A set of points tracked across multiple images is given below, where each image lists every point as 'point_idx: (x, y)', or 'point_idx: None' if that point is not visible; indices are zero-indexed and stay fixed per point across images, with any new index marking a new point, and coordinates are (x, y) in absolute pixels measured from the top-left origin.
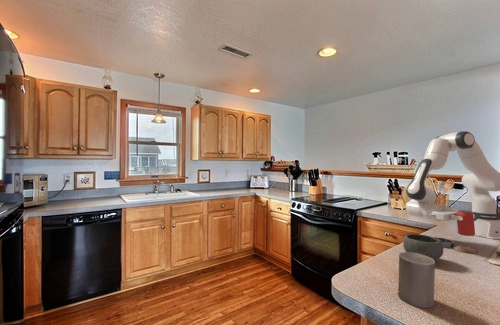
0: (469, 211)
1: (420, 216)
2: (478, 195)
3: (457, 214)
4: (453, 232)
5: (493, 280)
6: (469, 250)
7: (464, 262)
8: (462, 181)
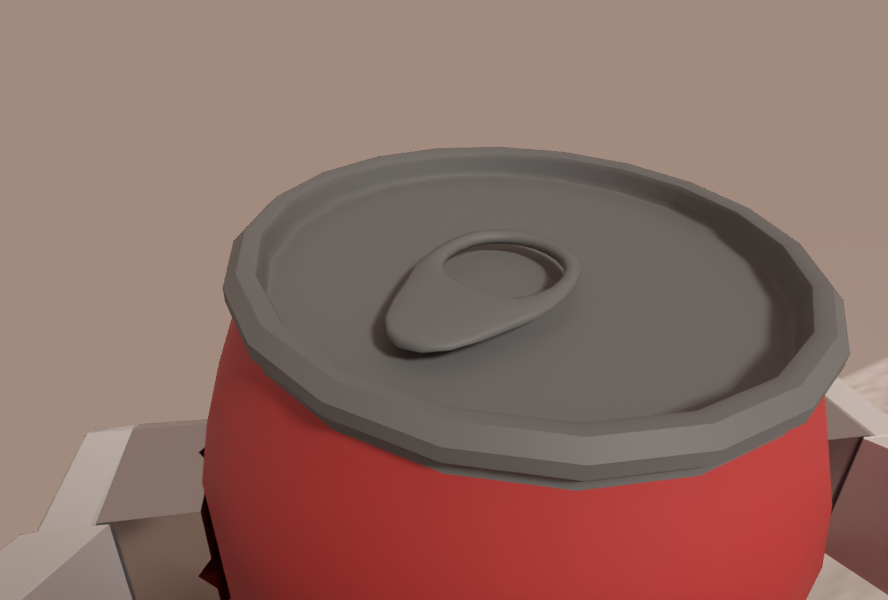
0: (287, 225)
1: None
2: None
3: (827, 511)
4: None
5: (848, 384)
6: None
7: (871, 594)
8: None
